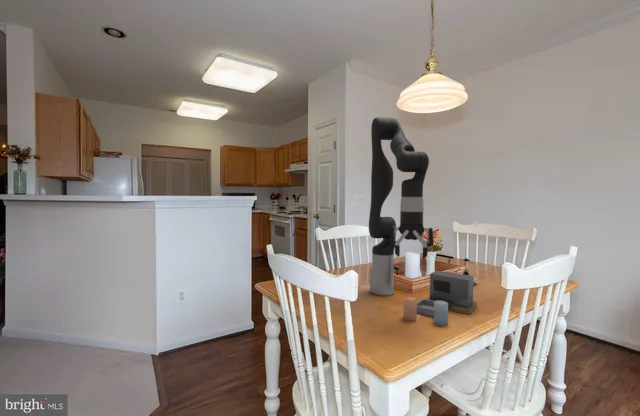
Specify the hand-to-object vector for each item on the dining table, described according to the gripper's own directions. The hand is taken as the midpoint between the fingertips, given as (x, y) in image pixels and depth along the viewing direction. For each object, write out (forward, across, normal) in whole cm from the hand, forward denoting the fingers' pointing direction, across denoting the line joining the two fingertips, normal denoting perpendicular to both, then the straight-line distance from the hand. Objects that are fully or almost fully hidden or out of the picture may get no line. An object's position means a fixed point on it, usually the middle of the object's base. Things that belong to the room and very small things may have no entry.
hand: (411, 257), depth 106 cm
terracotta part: (+22, 0, 0) cm, 22 cm away
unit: (+22, +13, +19) cm, 31 cm away
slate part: (+22, +10, 0) cm, 24 cm away
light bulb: (+22, +21, +54) cm, 62 cm away
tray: (+22, +6, +10) cm, 24 cm away
